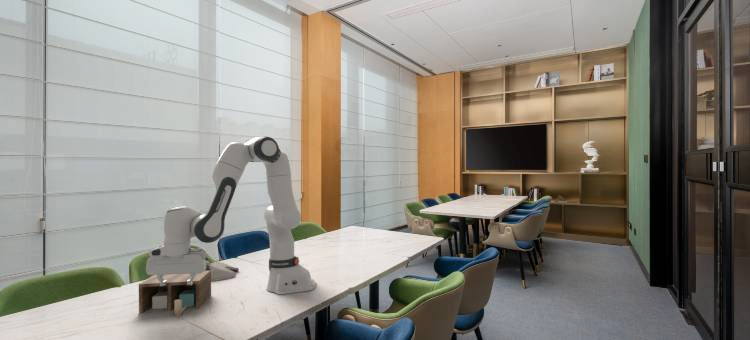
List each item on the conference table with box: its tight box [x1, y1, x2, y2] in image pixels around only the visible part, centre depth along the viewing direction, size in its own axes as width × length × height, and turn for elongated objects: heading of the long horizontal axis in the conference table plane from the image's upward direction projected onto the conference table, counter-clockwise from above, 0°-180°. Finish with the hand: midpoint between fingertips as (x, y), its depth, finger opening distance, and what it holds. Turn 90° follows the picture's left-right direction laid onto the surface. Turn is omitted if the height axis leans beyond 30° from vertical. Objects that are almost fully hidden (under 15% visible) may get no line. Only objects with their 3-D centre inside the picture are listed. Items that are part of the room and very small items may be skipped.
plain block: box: [151, 291, 168, 310], centre depth 136 cm, size 6×6×5 cm
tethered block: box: [174, 289, 196, 317], centre depth 133 cm, size 6×14×6 cm, turn 9°
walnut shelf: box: [138, 270, 212, 314], centre depth 137 cm, size 22×14×11 cm, turn 99°
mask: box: [205, 260, 240, 283], centre depth 173 cm, size 20×9×30 cm
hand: (176, 285), depth 127 cm, fingers open, 8 cm apart
